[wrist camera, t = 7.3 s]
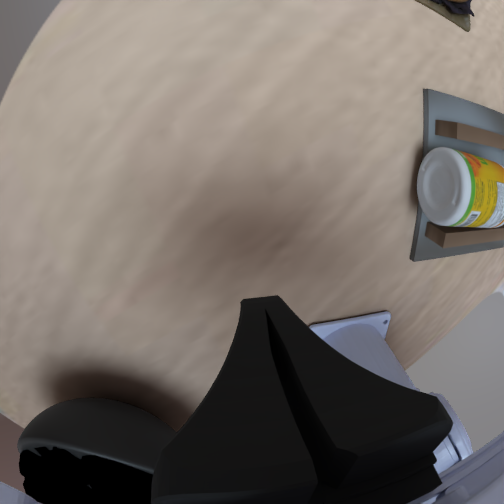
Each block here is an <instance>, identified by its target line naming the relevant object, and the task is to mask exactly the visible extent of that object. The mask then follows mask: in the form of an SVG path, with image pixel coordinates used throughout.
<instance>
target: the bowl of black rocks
mask: <svg viewBox="0 0 504 504" xmlns="http://www.w3.org/2000/svg"><path fill="white" fill-rule="evenodd" d="M176 433H177V432H176V431H174V430H173V429H172V428H171V427H170V426H168V425H167V424H166V423H164V422H163V421H162V420H160V419H158V418H157V417H155V416H153V415H152V414H150V413H148V412H146V411H144V410H142V409H140V408H138V407H135V406H132V405H130V404H127V403H123V402H120V401H115V400H110V399H103V398H79V399H72V400H68V401H64V402H61V403H58V404H56V405H53V406H51V407H49V408H48V409H46V410H44V411H43V412H41V413H40V414H39V415H37V416H36V417H35V418H34V419H33V420H32V421H31V422H30V423H29V424H28V425H27V427H26V428H25V429H24V431H23V433H22V434H21V436H20V438H19V440H18V446H17V447H18V451H19V453H20V461H19V468H20V473H21V475H23V476H24V477H25V480H24V483H23V486H24V489H25V492H26V494H27V495H28V496H30V497H32V498H33V499H35V500H36V501H37V502H39V503H42V504H151V489H152V478H153V473H154V469H155V465H156V462H157V459H158V456H159V453H160V451H161V449H162V448H163V447H164V446H165V445H166V444H167V443H168V442H169V441H170V440H171V439H172V438H173V436H174V435H175V434H176Z"/></svg>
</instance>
